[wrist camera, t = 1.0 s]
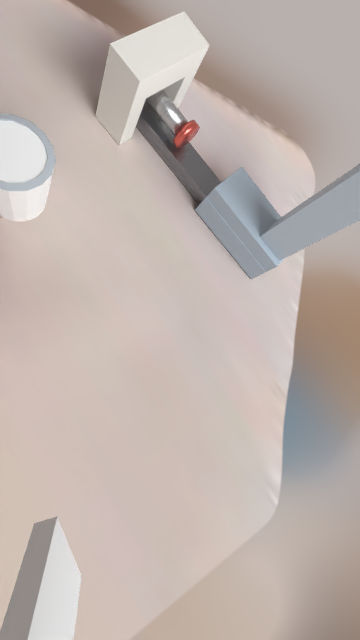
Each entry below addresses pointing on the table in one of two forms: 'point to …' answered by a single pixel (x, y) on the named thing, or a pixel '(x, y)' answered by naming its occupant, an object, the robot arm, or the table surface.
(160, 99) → the plunger
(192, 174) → the rail
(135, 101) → the arch
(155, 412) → the table surface
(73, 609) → the robot arm
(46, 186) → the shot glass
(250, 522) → the table surface
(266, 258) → the carriage
